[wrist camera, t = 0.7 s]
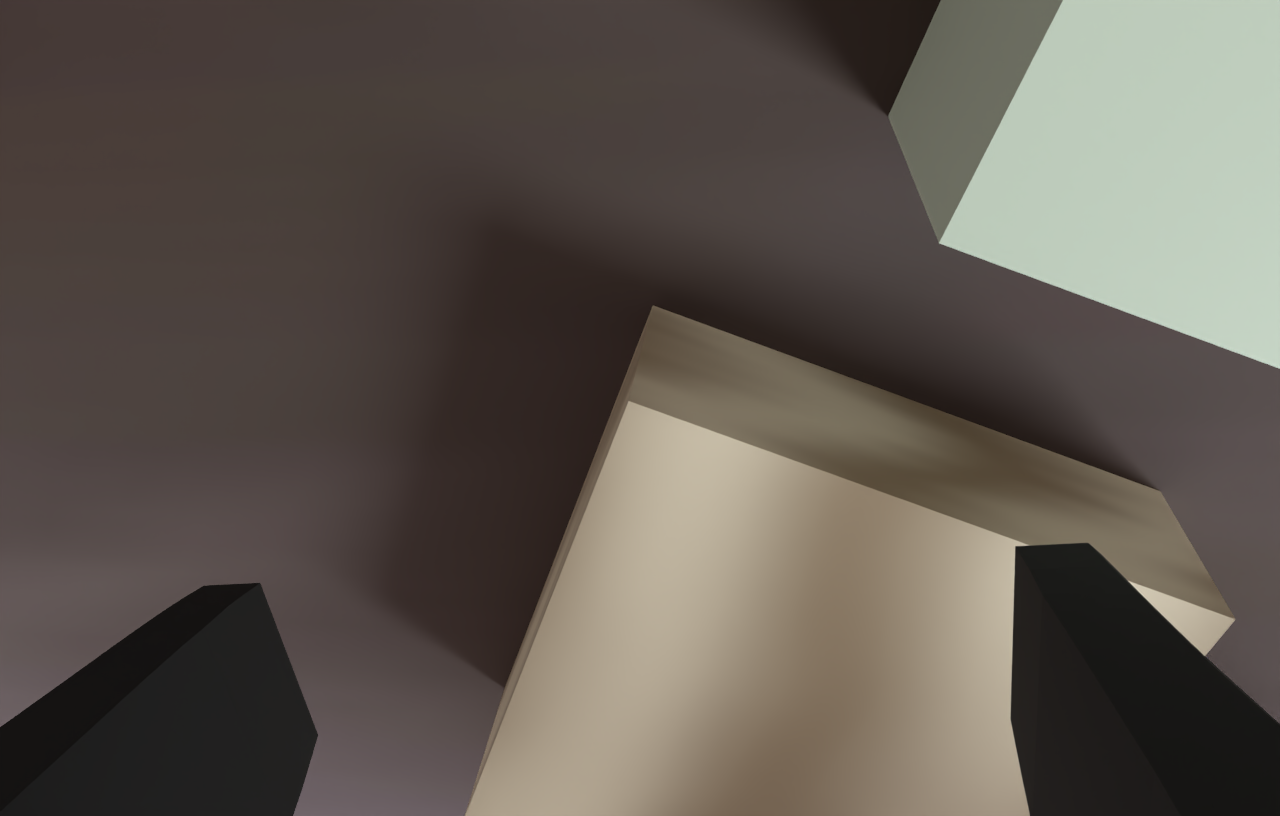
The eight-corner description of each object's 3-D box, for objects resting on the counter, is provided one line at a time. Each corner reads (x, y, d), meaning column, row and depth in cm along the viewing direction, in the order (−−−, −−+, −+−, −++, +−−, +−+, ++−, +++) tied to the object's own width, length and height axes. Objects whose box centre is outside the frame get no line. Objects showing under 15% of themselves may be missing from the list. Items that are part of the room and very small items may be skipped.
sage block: (1372, -100, 15) (1699, -60, 10) (1172, 222, 17) (1346, 393, 12) (1044, -231, 15) (1197, -265, 9) (888, 115, 17) (939, 243, 12)
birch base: (1154, 480, 20) (1235, 619, 16) (913, 814, 25) (936, 976, 21) (654, 297, 19) (628, 401, 16) (508, 677, 24) (462, 821, 21)
